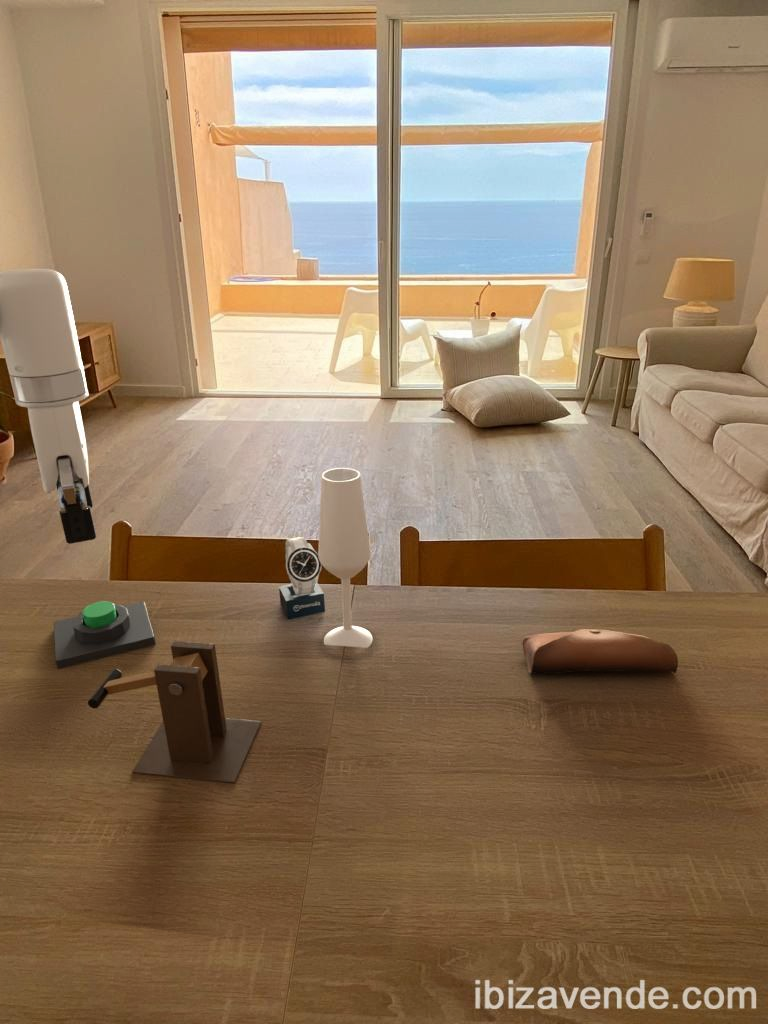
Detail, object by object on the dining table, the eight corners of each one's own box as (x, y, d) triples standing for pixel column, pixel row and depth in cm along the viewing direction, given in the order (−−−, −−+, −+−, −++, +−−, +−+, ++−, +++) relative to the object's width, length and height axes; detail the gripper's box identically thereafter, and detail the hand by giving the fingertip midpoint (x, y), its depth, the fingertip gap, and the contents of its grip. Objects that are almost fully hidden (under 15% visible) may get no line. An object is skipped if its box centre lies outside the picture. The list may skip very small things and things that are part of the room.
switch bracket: (133, 780, 72) (111, 680, 66) (169, 721, 80) (153, 627, 75) (235, 791, 70) (221, 689, 65) (262, 729, 78) (251, 634, 73)
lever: (93, 714, 71) (82, 695, 71) (117, 683, 76) (107, 665, 75) (194, 693, 68) (184, 674, 68) (213, 663, 73) (203, 644, 72)
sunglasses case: (653, 635, 93) (669, 613, 88) (665, 685, 89) (683, 665, 84) (518, 637, 93) (526, 614, 88) (525, 687, 89) (533, 667, 84)
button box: (59, 675, 88) (52, 649, 86) (56, 634, 96) (50, 610, 95) (156, 650, 92) (152, 625, 91) (146, 613, 101) (142, 590, 99)
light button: (86, 631, 90) (83, 620, 90) (84, 616, 94) (81, 605, 93) (118, 623, 92) (115, 612, 91) (115, 609, 95) (112, 598, 95)
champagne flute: (320, 628, 97) (310, 467, 87) (368, 623, 98) (363, 463, 88) (326, 657, 91) (316, 487, 81) (377, 650, 92) (373, 482, 82)
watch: (291, 627, 97) (285, 557, 93) (277, 599, 104) (271, 533, 99) (329, 618, 99) (325, 550, 94) (313, 591, 106) (309, 526, 101)
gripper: (17, 373, 83) (48, 503, 91) (8, 409, 69) (46, 561, 76) (83, 367, 86) (109, 494, 93) (88, 400, 72) (118, 548, 79)
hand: (80, 524), depth 85 cm, fingers open, 9 cm apart
